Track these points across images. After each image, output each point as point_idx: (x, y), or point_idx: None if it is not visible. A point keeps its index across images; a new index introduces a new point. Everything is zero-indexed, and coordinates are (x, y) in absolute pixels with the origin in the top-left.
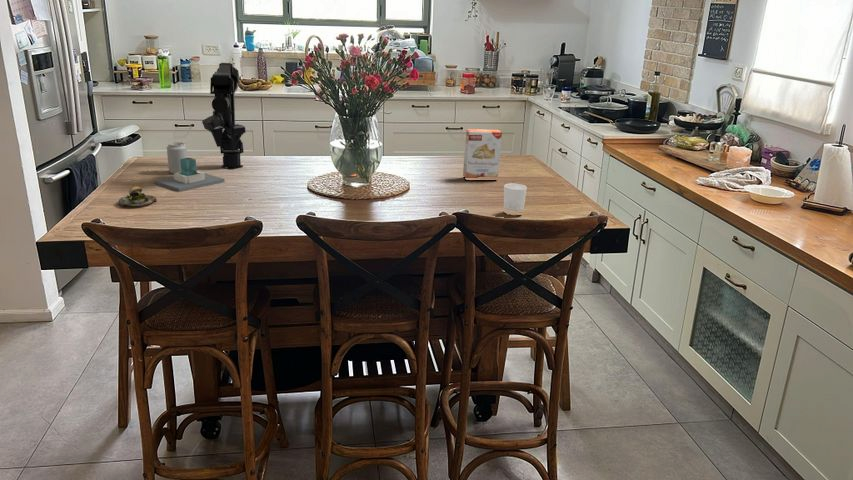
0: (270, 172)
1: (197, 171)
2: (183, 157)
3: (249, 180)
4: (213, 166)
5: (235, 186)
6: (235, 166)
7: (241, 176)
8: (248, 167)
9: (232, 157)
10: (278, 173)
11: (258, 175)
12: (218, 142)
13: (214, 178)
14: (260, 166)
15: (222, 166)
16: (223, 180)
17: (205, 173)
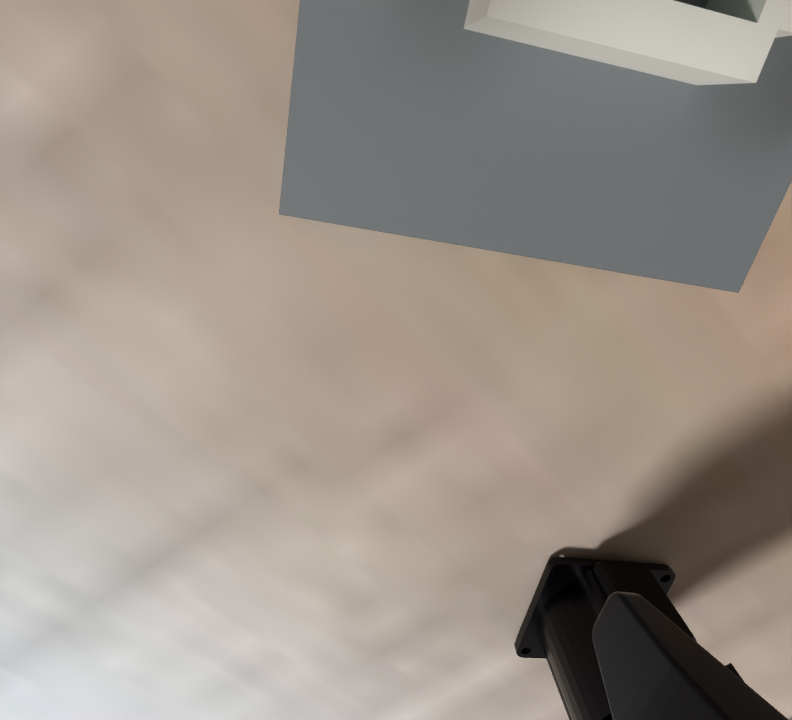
0: (221, 664)
1: (640, 38)
2: None
3: (129, 407)
4: (737, 538)
5: (6, 118)
6: (547, 608)
7: (313, 462)
8: (473, 658)
9: (596, 673)
10: (147, 678)
11: (219, 563)
12: (657, 714)
13: (391, 152)
14: (417, 714)
15: (659, 566)
16: (281, 194)
17: (629, 269)
